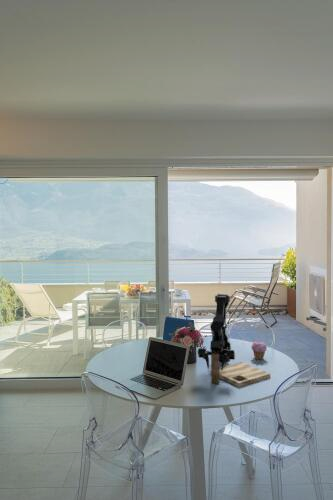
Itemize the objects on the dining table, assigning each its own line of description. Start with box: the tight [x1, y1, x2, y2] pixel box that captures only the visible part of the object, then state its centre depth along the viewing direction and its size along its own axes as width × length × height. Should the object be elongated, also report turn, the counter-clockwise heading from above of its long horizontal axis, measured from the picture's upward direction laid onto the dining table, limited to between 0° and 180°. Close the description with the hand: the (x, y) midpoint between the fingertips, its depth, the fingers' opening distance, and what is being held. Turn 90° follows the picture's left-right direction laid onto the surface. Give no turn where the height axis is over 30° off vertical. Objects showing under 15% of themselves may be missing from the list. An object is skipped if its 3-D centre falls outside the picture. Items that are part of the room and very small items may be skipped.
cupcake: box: [251, 341, 267, 360], centre depth 242 cm, size 9×9×10 cm
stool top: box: [219, 361, 271, 388], centre depth 216 cm, size 22×22×2 cm
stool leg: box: [210, 353, 220, 385], centre depth 206 cm, size 4×4×15 cm
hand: (214, 369), depth 205 cm, fingers open, 7 cm apart
